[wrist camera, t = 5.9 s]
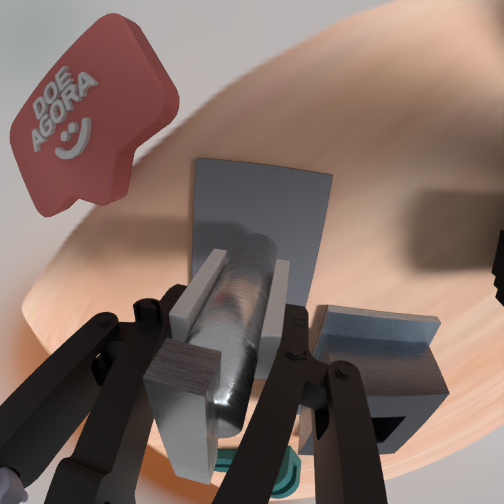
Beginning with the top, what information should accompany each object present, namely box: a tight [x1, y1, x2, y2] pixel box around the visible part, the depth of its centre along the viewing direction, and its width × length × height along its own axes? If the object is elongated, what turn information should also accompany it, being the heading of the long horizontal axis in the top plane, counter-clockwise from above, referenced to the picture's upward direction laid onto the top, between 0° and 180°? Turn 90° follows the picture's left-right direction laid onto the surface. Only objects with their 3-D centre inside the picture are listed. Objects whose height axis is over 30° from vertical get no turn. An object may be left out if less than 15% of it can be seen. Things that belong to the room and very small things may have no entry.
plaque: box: [10, 13, 179, 217], centre depth 19 cm, size 18×4×15 cm
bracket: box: [214, 446, 301, 499], centre depth 35 cm, size 18×7×8 cm, turn 112°
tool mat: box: [192, 158, 333, 307], centre depth 22 cm, size 12×10×1 cm
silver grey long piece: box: [143, 233, 279, 484], centre depth 13 cm, size 7×3×14 cm, turn 174°
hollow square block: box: [297, 305, 449, 455], centre depth 24 cm, size 22×12×8 cm, turn 174°
